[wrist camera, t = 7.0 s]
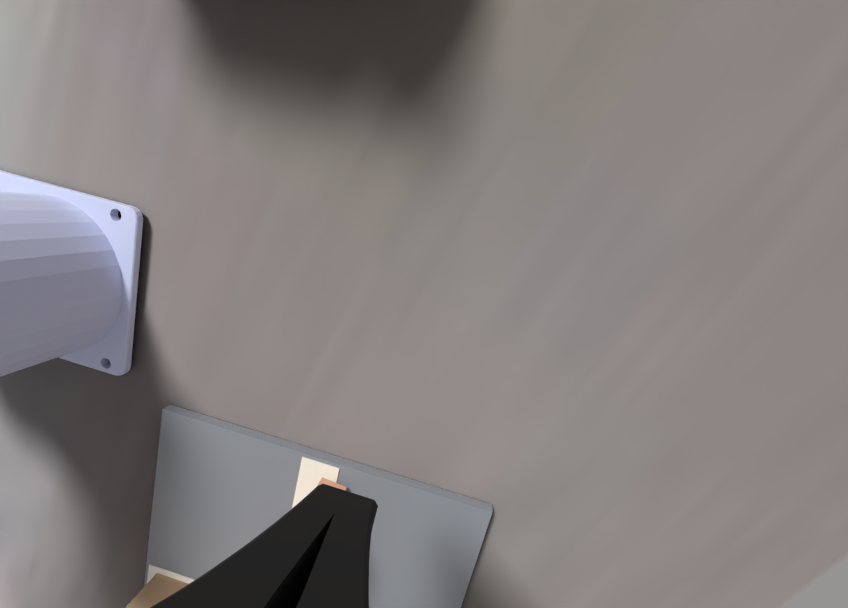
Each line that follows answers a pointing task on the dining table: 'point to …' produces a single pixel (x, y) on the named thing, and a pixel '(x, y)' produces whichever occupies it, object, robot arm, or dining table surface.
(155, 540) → the card
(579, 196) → the dining table surface
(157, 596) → the fence fixed
